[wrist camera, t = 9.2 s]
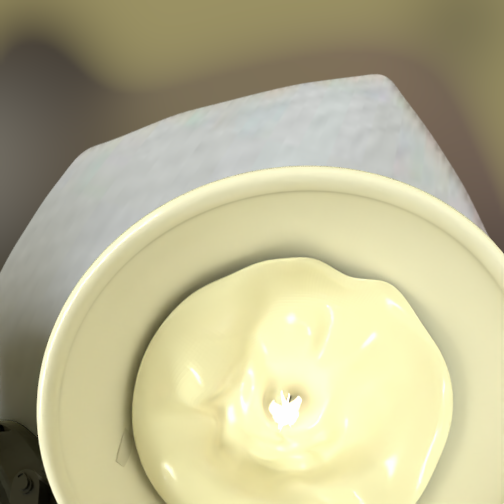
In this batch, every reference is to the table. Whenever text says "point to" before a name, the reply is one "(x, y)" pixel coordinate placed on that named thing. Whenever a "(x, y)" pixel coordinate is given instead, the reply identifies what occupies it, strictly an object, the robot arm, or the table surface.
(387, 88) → the table surface
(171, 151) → the table surface
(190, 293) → the candle holder
